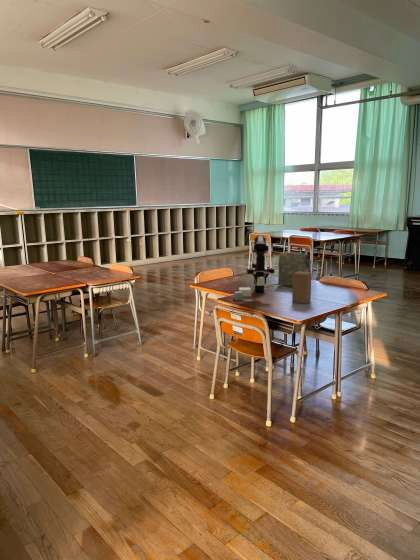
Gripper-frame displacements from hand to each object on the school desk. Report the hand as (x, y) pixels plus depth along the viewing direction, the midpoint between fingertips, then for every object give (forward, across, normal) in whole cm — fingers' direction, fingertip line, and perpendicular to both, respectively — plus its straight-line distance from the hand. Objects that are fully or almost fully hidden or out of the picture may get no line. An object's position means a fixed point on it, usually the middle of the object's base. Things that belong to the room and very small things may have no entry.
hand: (260, 283), depth 287 cm
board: (+11, +9, +6) cm, 15 cm away
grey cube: (+11, +15, -1) cm, 19 cm away
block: (+11, -25, +14) cm, 31 cm away
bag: (+11, -37, -37) cm, 53 cm away
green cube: (+1, 0, 0) cm, 1 cm away
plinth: (+11, +8, -12) cm, 18 cm away
